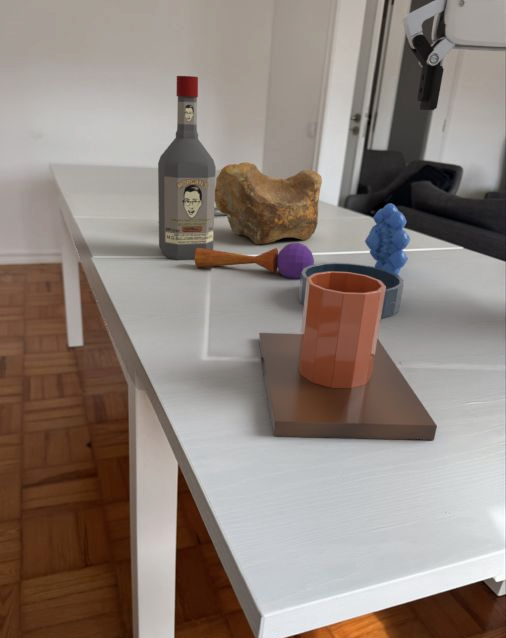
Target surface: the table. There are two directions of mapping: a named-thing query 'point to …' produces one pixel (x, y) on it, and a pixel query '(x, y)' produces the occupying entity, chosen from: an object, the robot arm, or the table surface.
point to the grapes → (388, 239)
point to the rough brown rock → (268, 203)
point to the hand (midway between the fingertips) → (473, 111)
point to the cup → (340, 328)
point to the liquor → (186, 183)
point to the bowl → (386, 277)
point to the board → (339, 399)
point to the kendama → (262, 259)
